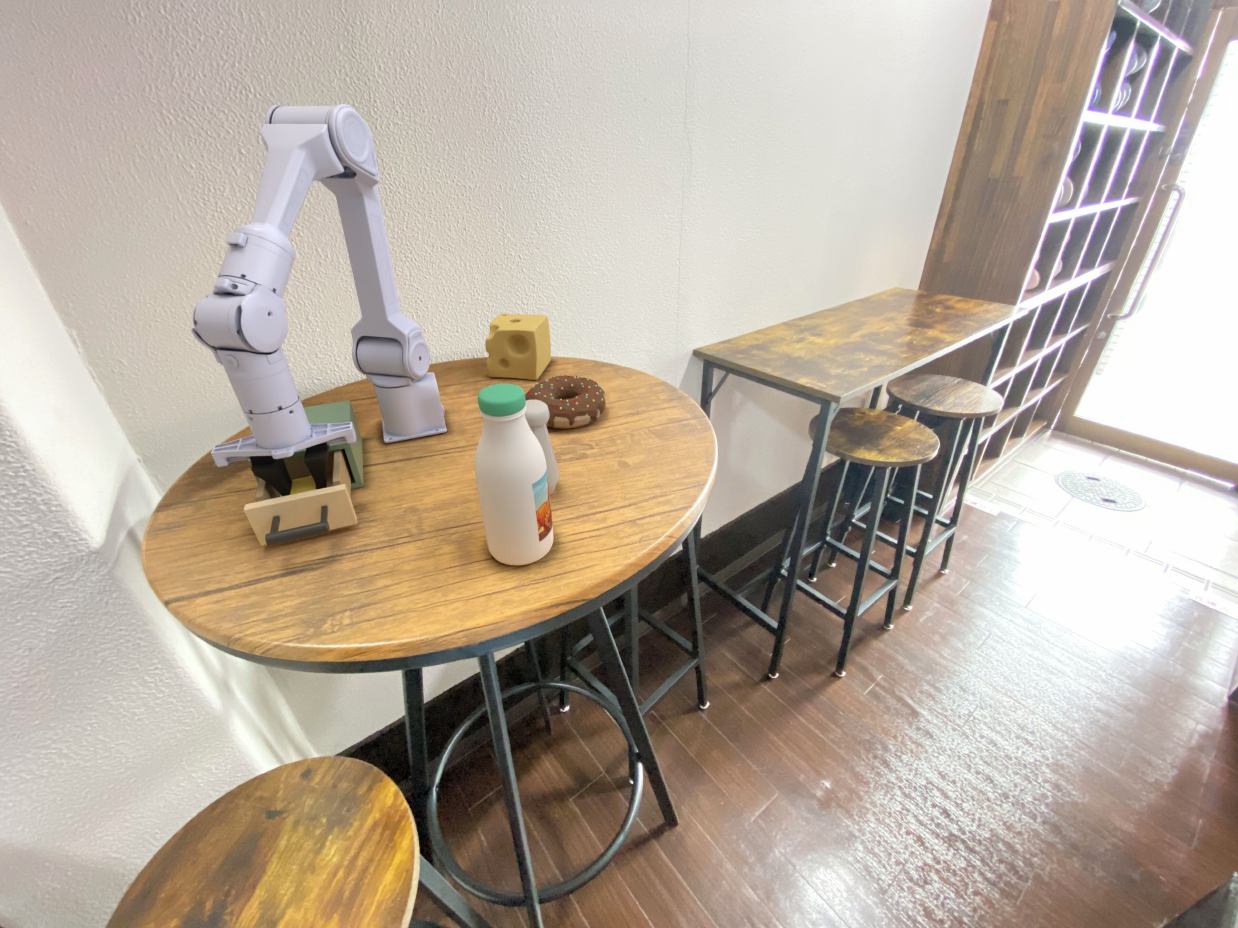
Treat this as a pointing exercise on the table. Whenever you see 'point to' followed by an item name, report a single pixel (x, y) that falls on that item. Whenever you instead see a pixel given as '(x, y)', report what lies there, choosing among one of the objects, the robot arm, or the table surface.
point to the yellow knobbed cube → (303, 485)
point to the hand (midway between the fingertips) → (309, 499)
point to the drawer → (303, 504)
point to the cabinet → (353, 451)
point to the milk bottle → (512, 479)
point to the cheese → (518, 346)
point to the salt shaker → (543, 437)
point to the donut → (569, 400)
